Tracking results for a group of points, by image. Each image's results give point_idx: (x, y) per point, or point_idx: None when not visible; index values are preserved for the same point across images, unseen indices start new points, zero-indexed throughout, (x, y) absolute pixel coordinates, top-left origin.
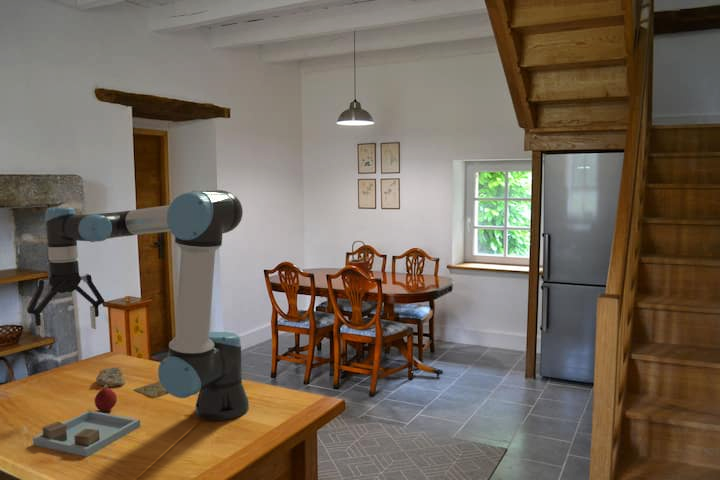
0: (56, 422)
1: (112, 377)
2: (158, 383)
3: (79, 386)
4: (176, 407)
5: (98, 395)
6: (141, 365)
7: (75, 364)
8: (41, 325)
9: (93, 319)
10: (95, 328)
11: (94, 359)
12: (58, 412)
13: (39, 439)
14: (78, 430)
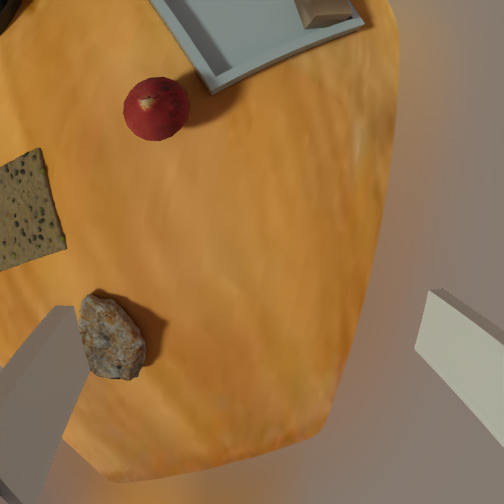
0: (320, 13)
1: (103, 333)
2: (11, 247)
3: (188, 359)
4: (24, 58)
5: (176, 95)
6: None
7: (181, 472)
8: (497, 328)
9: (32, 351)
10: (58, 306)
11: (144, 476)
12: (272, 199)
13: (353, 7)
14: (259, 28)
